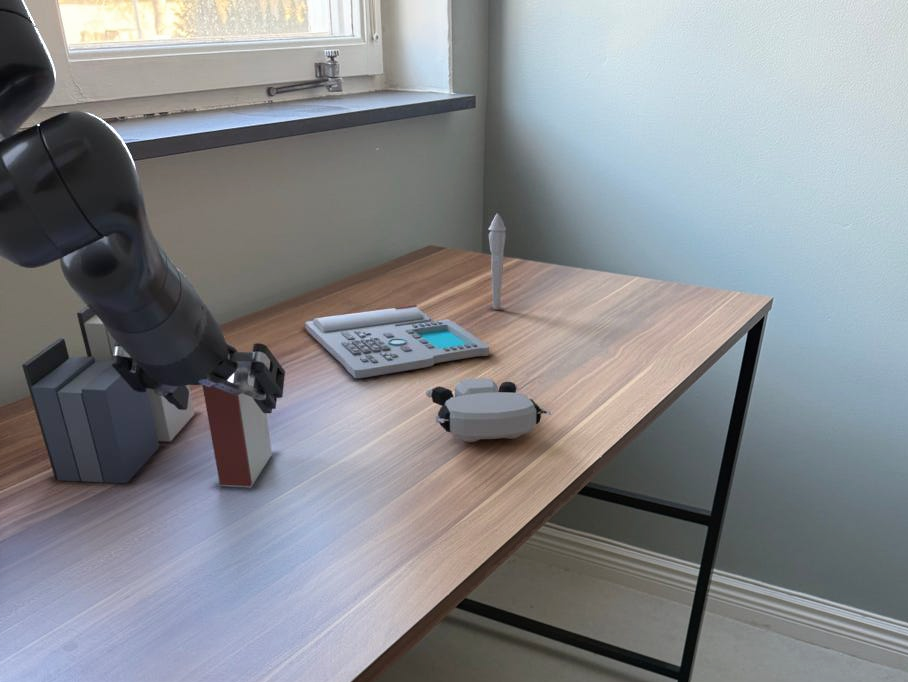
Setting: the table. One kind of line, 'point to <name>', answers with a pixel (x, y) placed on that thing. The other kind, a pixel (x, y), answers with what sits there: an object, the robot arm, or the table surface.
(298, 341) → the table surface
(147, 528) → the table surface
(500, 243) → the pen
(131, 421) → the grey books
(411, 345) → the office telephone
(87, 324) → the white books
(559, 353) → the table surface
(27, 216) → the robot arm
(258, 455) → the cream book
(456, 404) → the robot toy
